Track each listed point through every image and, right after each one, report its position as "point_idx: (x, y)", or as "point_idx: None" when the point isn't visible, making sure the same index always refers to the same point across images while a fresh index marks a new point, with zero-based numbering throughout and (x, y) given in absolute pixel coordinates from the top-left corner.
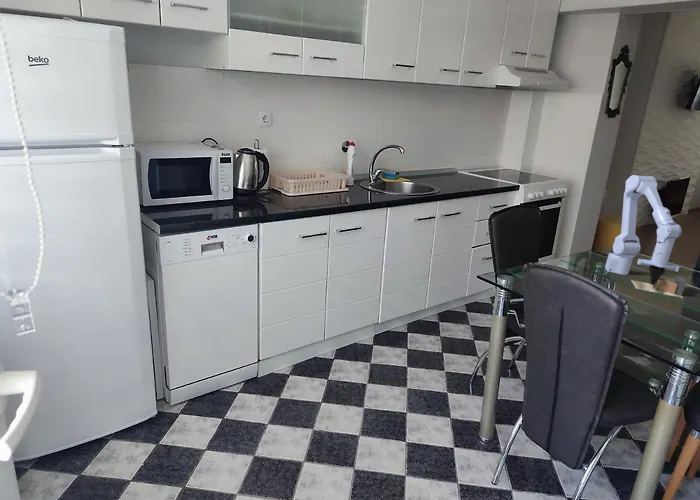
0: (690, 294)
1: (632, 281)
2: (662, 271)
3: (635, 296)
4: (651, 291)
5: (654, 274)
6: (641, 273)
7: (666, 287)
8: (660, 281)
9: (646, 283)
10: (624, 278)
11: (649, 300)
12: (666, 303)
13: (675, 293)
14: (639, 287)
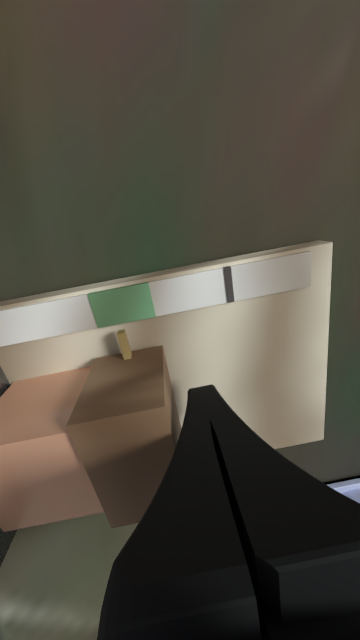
0: None
1: (320, 413)
2: (155, 580)
3: (350, 48)
4: (198, 273)
5: (253, 466)
6: None
7: (75, 392)
8: (142, 405)
9: None
10: (330, 469)
11: (218, 17)
12: (48, 70)
13: (4, 380)
14: (293, 304)
